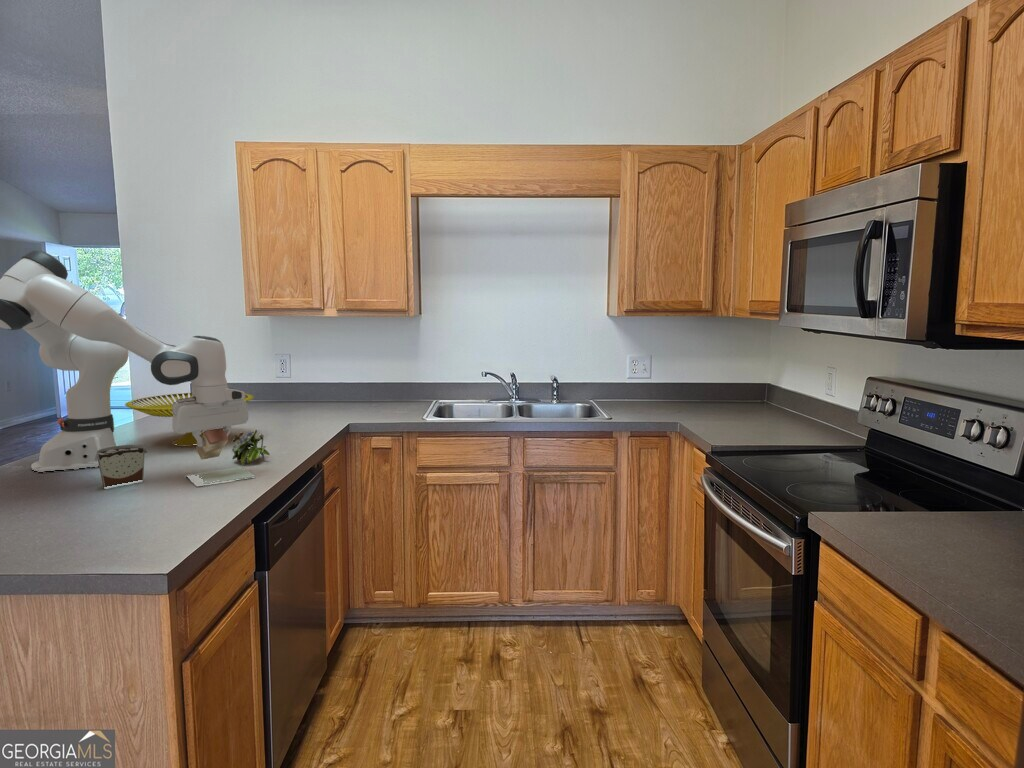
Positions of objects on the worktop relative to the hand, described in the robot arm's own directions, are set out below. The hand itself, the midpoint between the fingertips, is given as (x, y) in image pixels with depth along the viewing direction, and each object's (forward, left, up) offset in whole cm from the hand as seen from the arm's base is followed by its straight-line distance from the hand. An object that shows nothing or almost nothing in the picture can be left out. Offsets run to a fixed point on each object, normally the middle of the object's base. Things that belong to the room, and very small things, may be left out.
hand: (212, 444), depth 179 cm
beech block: (-1, +3, -3) cm, 4 cm away
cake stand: (+6, +54, -10) cm, 55 cm away
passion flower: (+14, +14, -10) cm, 22 cm away
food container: (-22, +9, -10) cm, 26 cm away
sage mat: (+1, -1, -10) cm, 10 cm away
